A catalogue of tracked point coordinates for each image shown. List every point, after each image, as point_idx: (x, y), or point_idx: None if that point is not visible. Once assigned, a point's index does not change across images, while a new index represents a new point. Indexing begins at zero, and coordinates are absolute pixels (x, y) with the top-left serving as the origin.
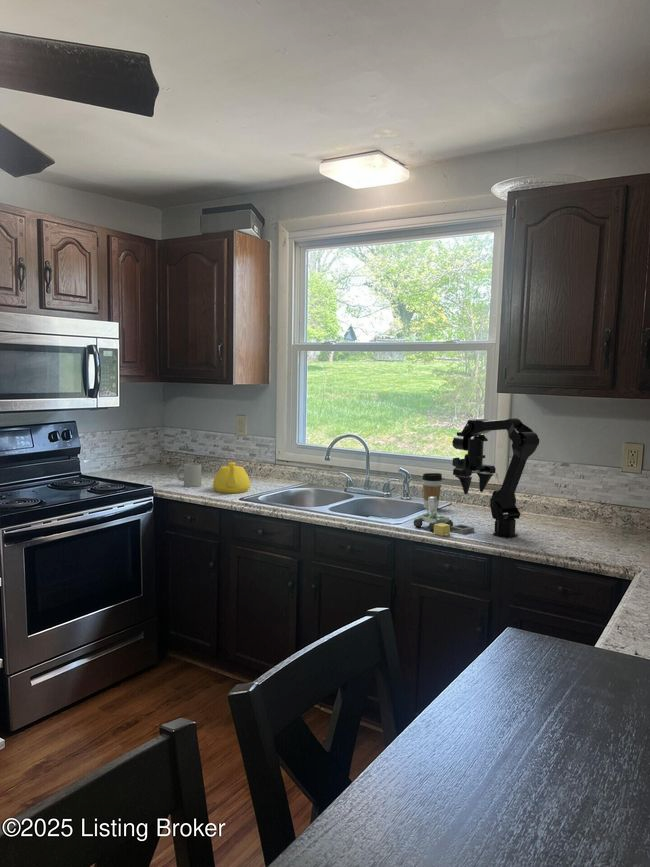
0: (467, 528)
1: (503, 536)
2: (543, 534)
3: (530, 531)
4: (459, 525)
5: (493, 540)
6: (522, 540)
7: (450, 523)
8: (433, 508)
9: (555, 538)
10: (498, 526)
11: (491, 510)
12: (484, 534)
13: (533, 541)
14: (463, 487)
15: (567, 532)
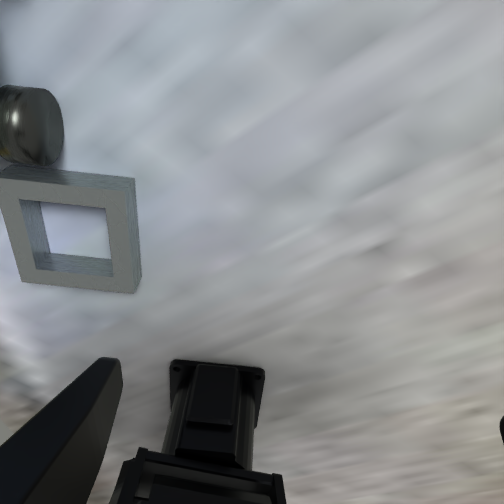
0: (70, 282)
1: (171, 406)
2: (374, 460)
3: (392, 421)
4: (85, 205)
5: None
6: None
7: (13, 162)
8: None
9: (339, 493)
10: (169, 422)
11: (120, 492)
12: (146, 332)
13: None
14: (2, 466)
15: (480, 492)
